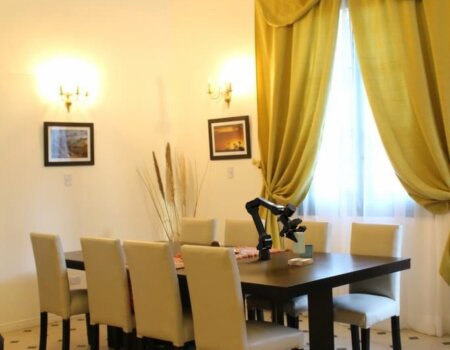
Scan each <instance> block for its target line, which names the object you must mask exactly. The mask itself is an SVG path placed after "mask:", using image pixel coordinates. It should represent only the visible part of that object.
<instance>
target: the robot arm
mask: <svg viewBox="0 0 450 350" xmlns="http://www.w3.org/2000/svg"><path fill="white" fill-rule="evenodd" d="M261 206H262V207H263V208H265V209H267V210H269V211H270V213H271V214H272V215H273V216H275V217H276V216H278V217H277V219H276V222H277V223H279V222H280V223H281V224H282V228H281V230H280V231H279V237H280V238H285V239H289V240H291V241H292V242H293V241H294V242H296V243H297V242H298V241H297V239H296V237H295V236H294V234H293V233H295V232H304V233H305V232H306V230H307V229H308V227H306V225H300V224H302V223H303V219H302V218H301V217H297V218H293V219H292V220H291V218H292V217H293V215H294V214H295V212H296V211H297V207H296V206H295V205H294V204H292V203H286V205H285V206H283V205H280V204H276V203H273V202H271V201H269V200H268V199H266V198H264V197H262V196H261V197H256V198H254V199H251V200H250V201H247V202H245V205H244V207H245V210H246V212H247V213H248V215H250V216H251V218H252V221H253V223H254V226H255V229H256V232H257V234H258V240H257V241H258V243H257V245H256V246H255V248H256V251H258V258H257V260H258V261H259V260H260V261H268V260H272V257H271V251H270V250H272V249H273V244H274V241H273V238H272V234H270V233H269V234H268V233H267V232H266V228H265V226H264V224H263V221H262V219H261V215H260V213H259V212H260V207H261ZM298 225H299V226H298Z"/></svg>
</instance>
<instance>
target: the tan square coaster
mask: <svg viewBox="0 0 450 350" xmlns="http://www.w3.org/2000/svg"><path fill="white" fill-rule="evenodd" d="M288 264H289V265H290V266H301V267H302V266H308V265H311V264H314V258H311V259H307V258H301V257H295V258H292V259H288V260H287V265H288Z"/></svg>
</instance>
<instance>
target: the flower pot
mask: <svg viewBox="0 0 450 350" xmlns="http://www.w3.org/2000/svg"><path fill="white" fill-rule="evenodd" d="M314 245H315V244H305V253H300V254H299V258H307V259H313V255H314V251H315V249H314Z"/></svg>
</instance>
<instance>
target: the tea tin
mask: <svg viewBox="0 0 450 350" xmlns="http://www.w3.org/2000/svg"><path fill="white" fill-rule="evenodd" d="M293 234H294V236H295V237H296V239H297V241H298V242H297V243H296V242H294V241H292V253H293V254H299V255H300V253H305V245H306V238H305V237H306V233H305V232H295V233H293Z"/></svg>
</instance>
